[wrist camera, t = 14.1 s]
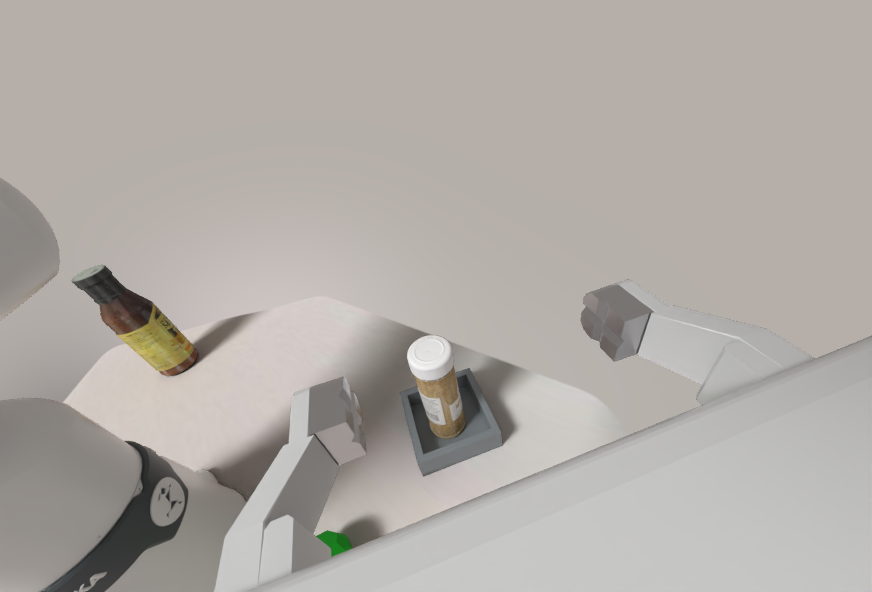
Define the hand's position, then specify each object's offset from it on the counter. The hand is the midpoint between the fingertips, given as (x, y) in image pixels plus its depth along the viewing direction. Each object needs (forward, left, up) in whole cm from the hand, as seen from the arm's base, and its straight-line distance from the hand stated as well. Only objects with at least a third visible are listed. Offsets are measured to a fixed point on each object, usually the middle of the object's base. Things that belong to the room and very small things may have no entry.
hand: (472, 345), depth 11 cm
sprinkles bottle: (0, +15, -29) cm, 33 cm away
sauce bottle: (-41, +44, -30) cm, 67 cm away
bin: (0, +15, -30) cm, 33 cm away
